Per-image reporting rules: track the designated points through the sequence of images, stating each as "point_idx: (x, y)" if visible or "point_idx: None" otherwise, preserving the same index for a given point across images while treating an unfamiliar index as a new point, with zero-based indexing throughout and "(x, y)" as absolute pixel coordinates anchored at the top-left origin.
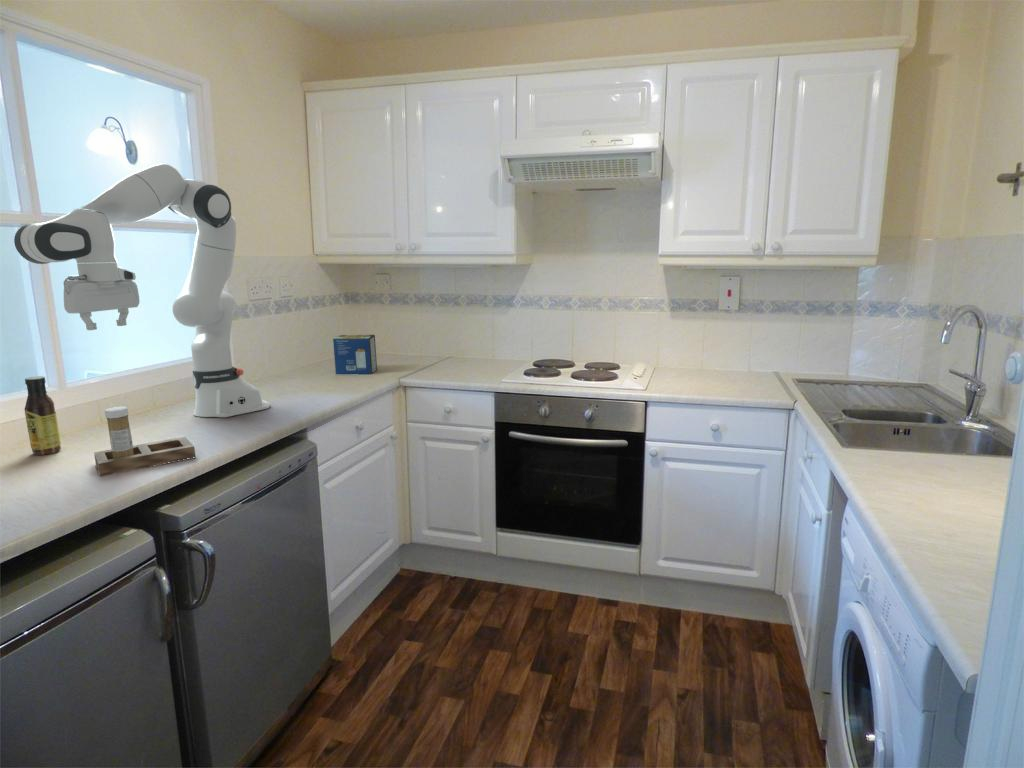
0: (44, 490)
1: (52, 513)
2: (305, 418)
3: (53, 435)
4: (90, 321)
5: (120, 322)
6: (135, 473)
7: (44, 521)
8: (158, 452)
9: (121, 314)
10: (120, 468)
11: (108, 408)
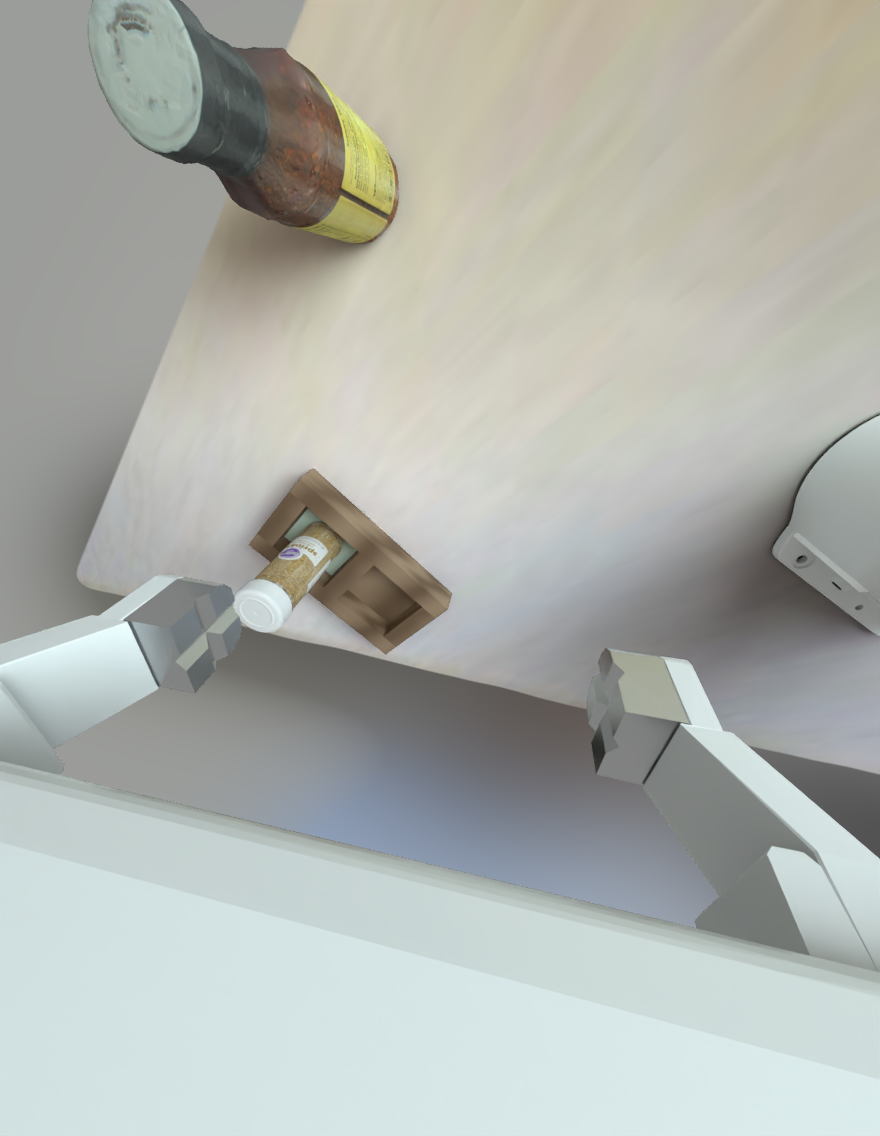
0: (177, 482)
1: (138, 568)
2: None
3: (335, 238)
4: (103, 699)
5: (603, 718)
6: None
7: (121, 577)
8: (337, 613)
9: (740, 831)
10: None
11: (248, 595)
